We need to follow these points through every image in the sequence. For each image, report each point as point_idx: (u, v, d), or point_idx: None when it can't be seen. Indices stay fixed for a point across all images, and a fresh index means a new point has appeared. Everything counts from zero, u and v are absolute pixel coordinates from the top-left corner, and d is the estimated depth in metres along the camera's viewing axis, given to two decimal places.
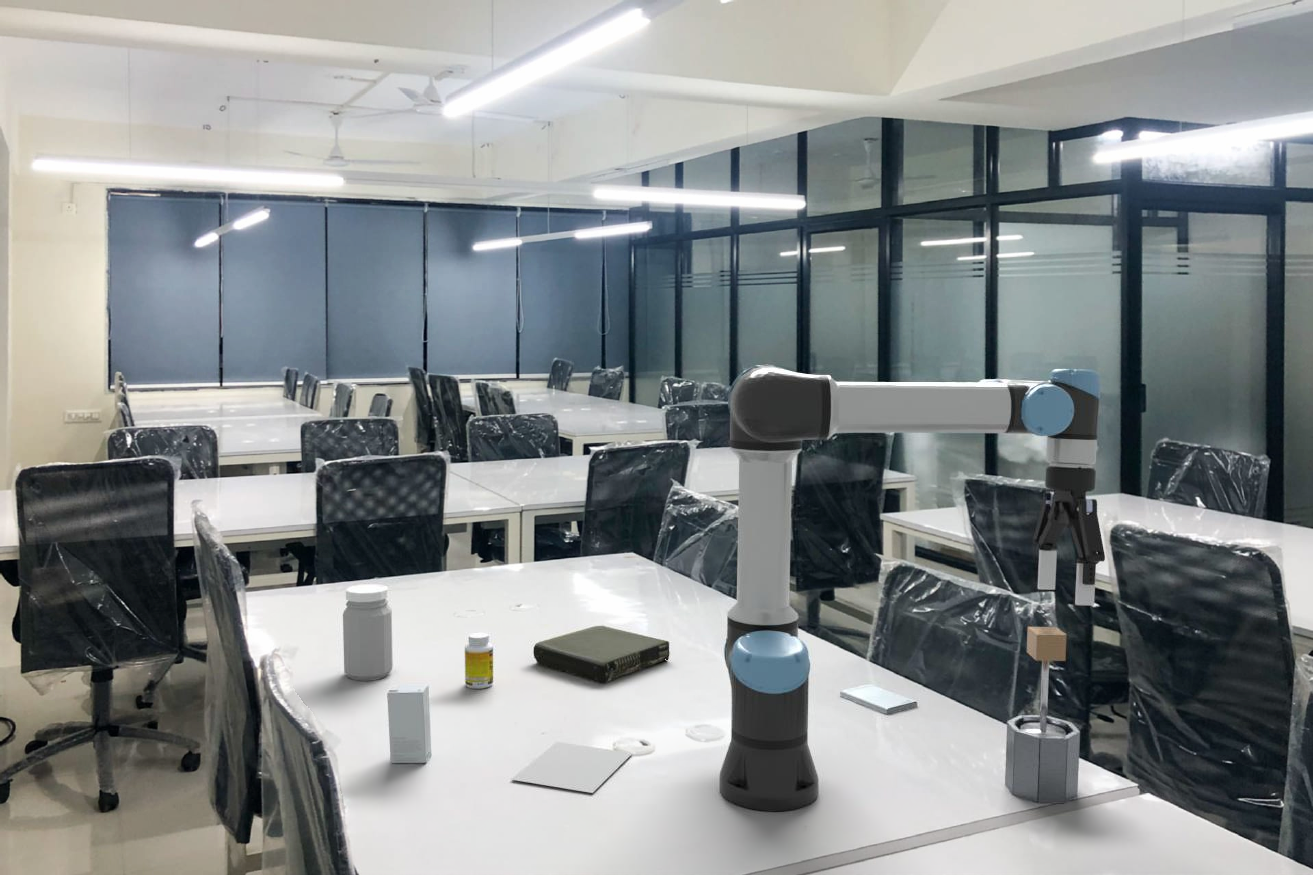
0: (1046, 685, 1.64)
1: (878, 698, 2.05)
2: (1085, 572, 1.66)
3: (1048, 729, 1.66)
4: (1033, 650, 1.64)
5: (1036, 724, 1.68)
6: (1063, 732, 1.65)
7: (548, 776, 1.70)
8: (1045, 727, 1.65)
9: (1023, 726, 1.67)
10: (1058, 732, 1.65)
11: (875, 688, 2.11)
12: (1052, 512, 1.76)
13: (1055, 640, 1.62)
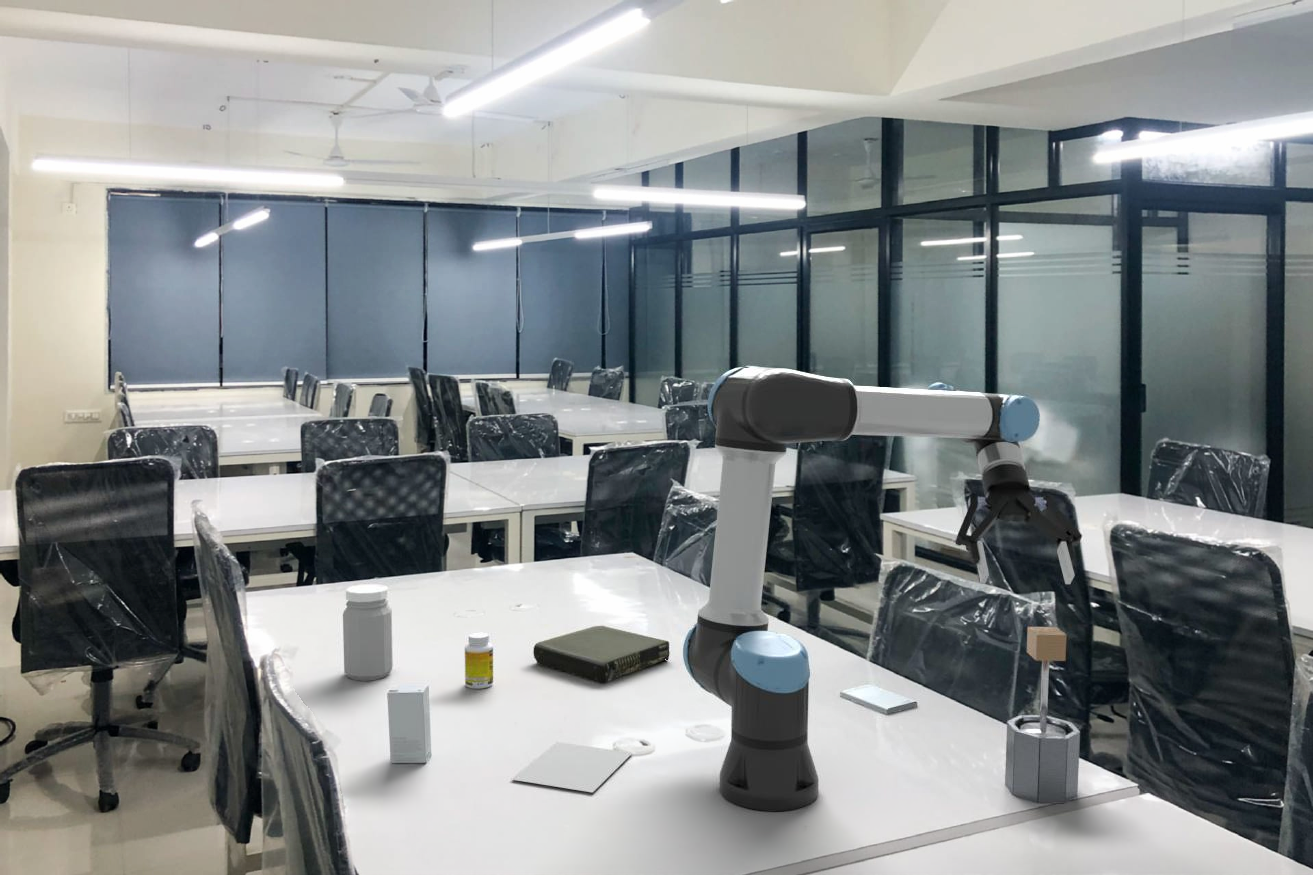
0: (1046, 685, 1.64)
1: (878, 698, 2.05)
2: (1071, 550, 1.76)
3: (1048, 729, 1.66)
4: (1033, 650, 1.64)
5: (1036, 724, 1.68)
6: (1063, 732, 1.65)
7: (548, 776, 1.70)
8: (1045, 727, 1.65)
9: (1023, 726, 1.67)
10: (1058, 732, 1.65)
11: (875, 688, 2.11)
12: (1000, 506, 1.81)
13: (1055, 640, 1.62)
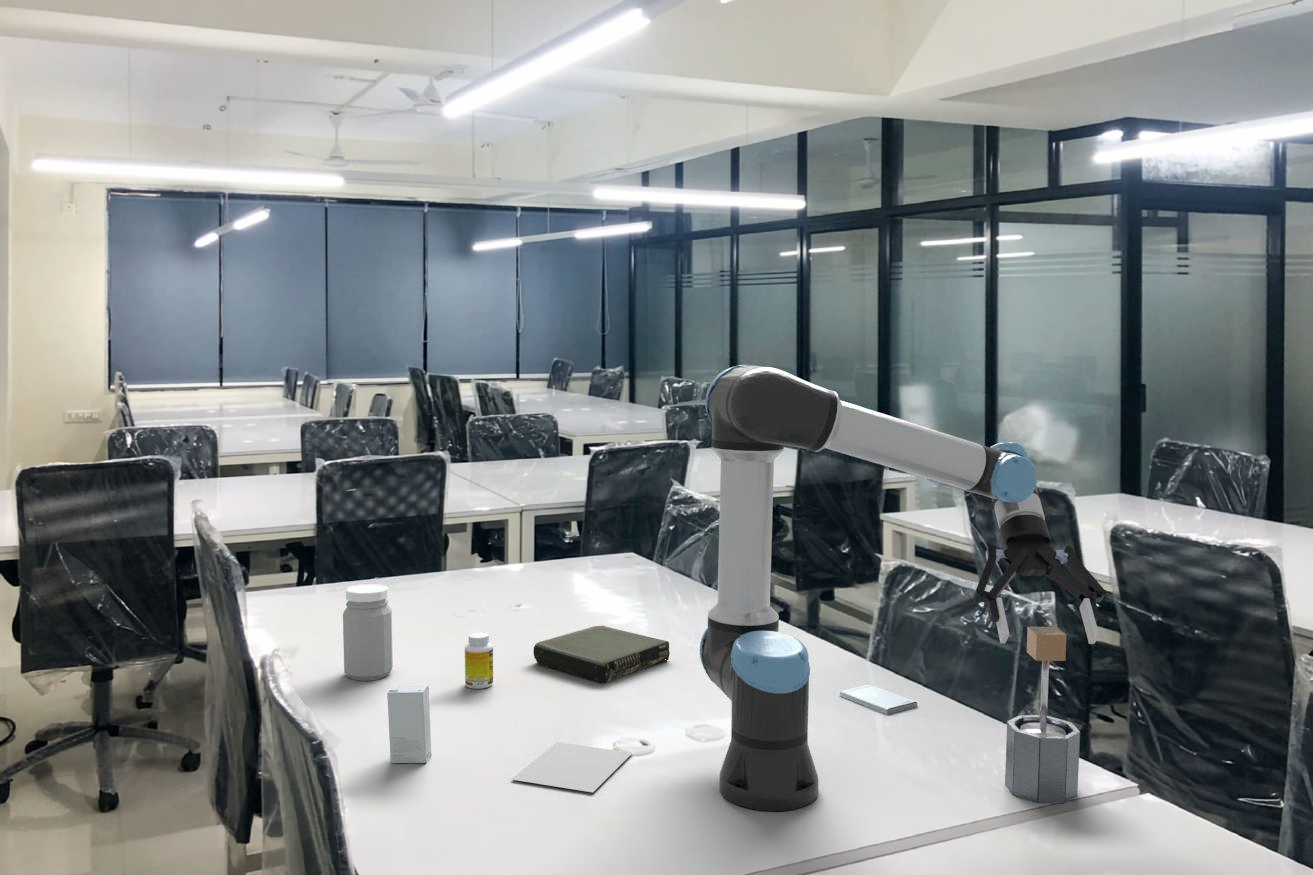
0: (1046, 685, 1.64)
1: (878, 699, 2.04)
2: (1095, 607, 1.68)
3: (1048, 729, 1.66)
4: (1033, 650, 1.64)
5: (1036, 724, 1.68)
6: (1063, 732, 1.65)
7: (549, 776, 1.70)
8: (1045, 727, 1.65)
9: (1023, 726, 1.67)
10: (1058, 732, 1.65)
11: (875, 688, 2.11)
12: (1020, 559, 1.73)
13: (1055, 640, 1.62)
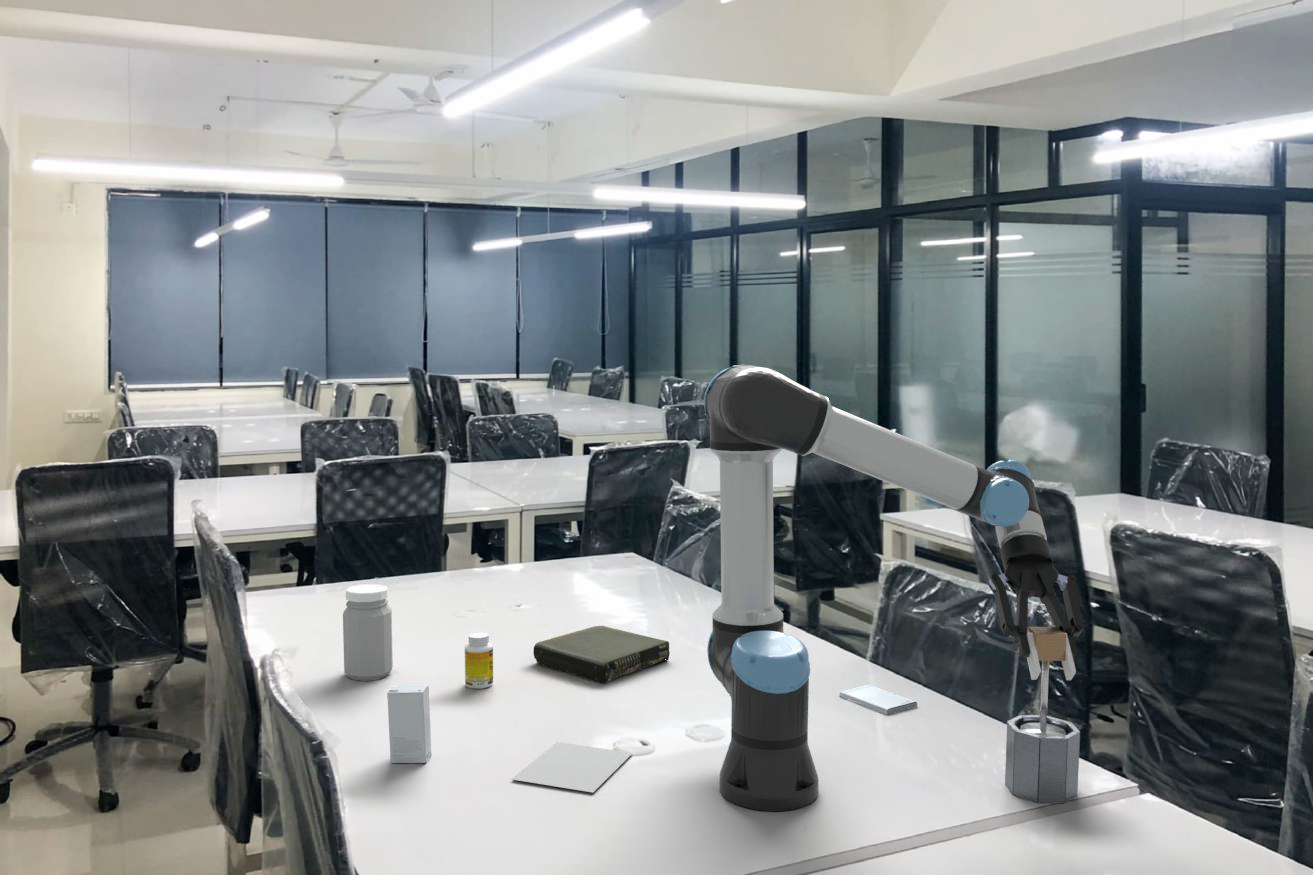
0: (1046, 685, 1.64)
1: (878, 699, 2.04)
2: (1072, 642, 1.63)
3: (1048, 729, 1.66)
4: None
5: (1036, 724, 1.68)
6: (1063, 732, 1.65)
7: (549, 776, 1.70)
8: (1045, 727, 1.65)
9: (1023, 726, 1.67)
10: (1058, 732, 1.65)
11: (874, 688, 2.11)
12: (1026, 582, 1.69)
13: (1055, 641, 1.62)
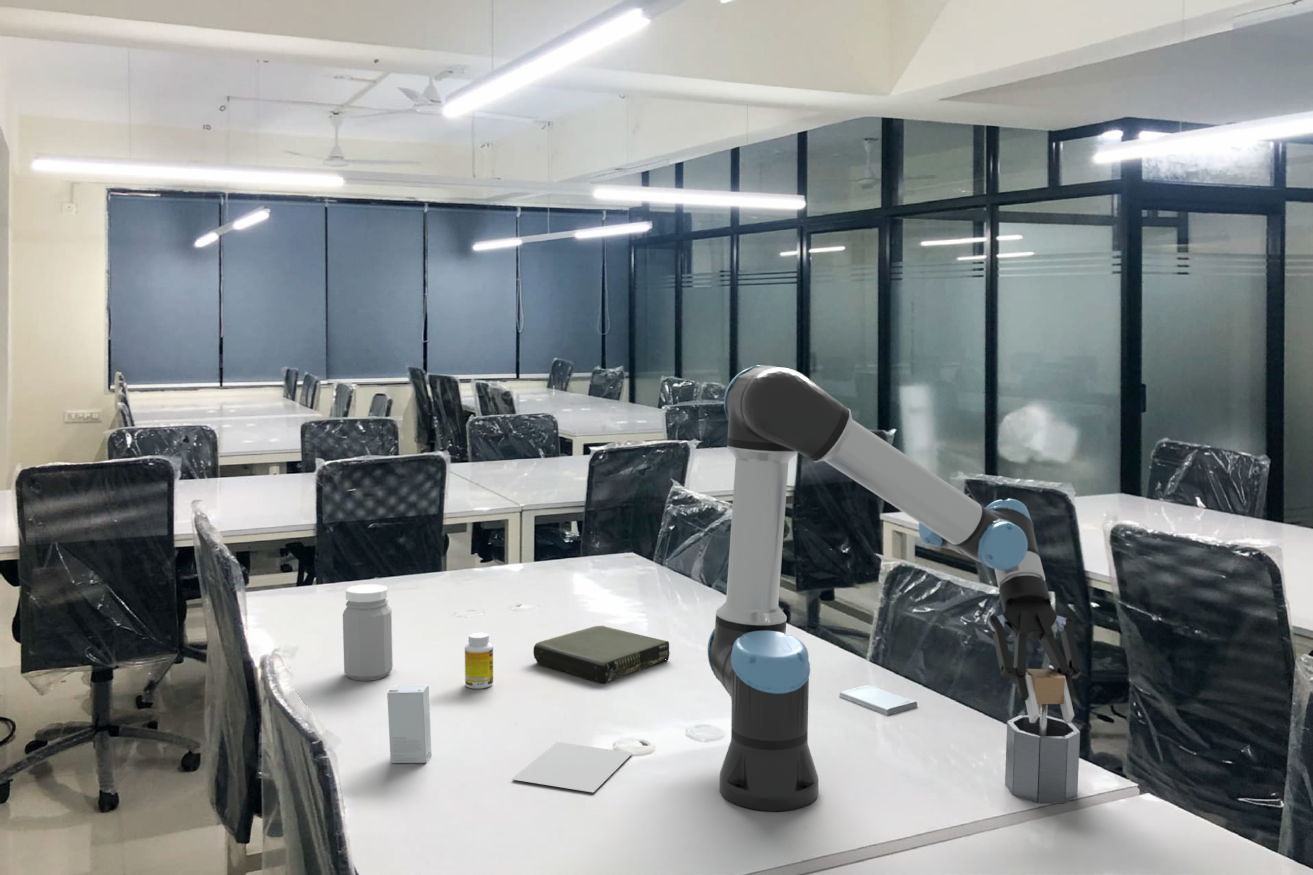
0: (1044, 728, 1.65)
1: (878, 699, 2.04)
2: (1070, 685, 1.64)
3: None
4: None
5: None
6: None
7: (549, 776, 1.70)
8: None
9: None
10: None
11: (874, 688, 2.11)
12: (1025, 624, 1.70)
13: (1053, 684, 1.62)
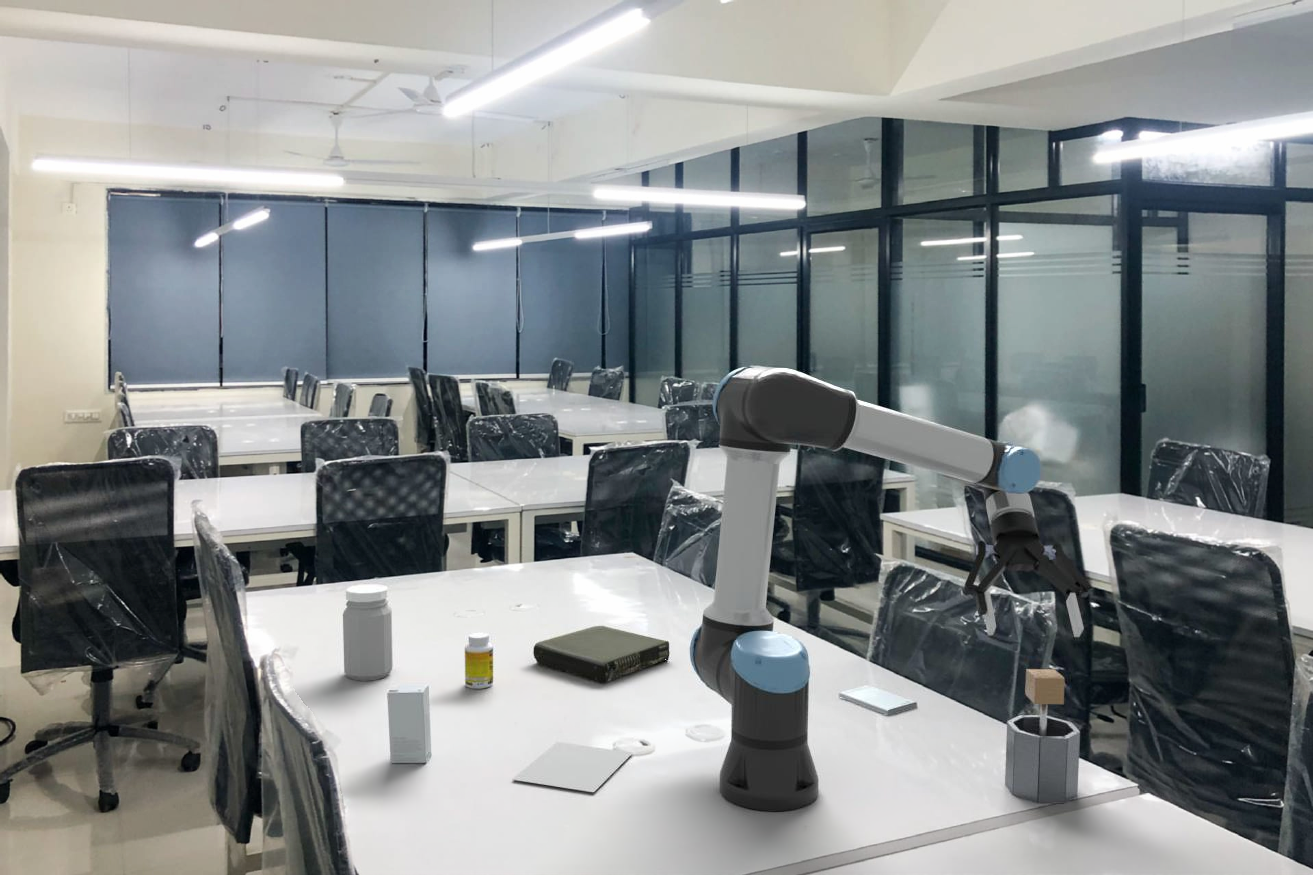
0: (1044, 728, 1.65)
1: (878, 700, 2.04)
2: (1080, 601, 1.73)
3: None
4: (1031, 693, 1.64)
5: None
6: None
7: (549, 776, 1.70)
8: None
9: None
10: None
11: (874, 689, 2.10)
12: (1009, 555, 1.78)
13: (1053, 684, 1.62)
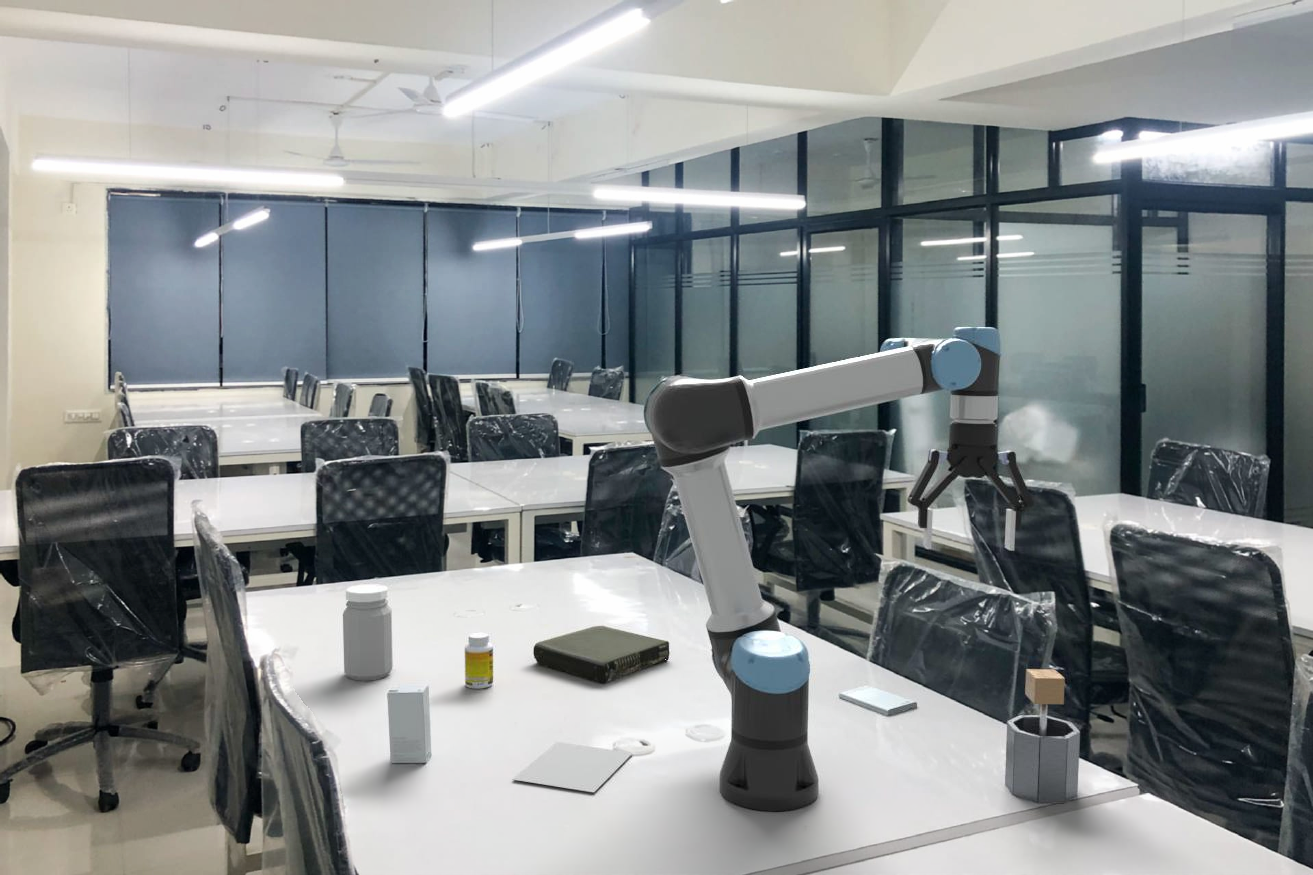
0: (1044, 728, 1.65)
1: (878, 700, 2.04)
2: (1019, 518, 1.78)
3: None
4: (1031, 693, 1.64)
5: None
6: None
7: (549, 776, 1.70)
8: None
9: None
10: None
11: (873, 689, 2.10)
12: (960, 469, 1.77)
13: (1053, 684, 1.62)
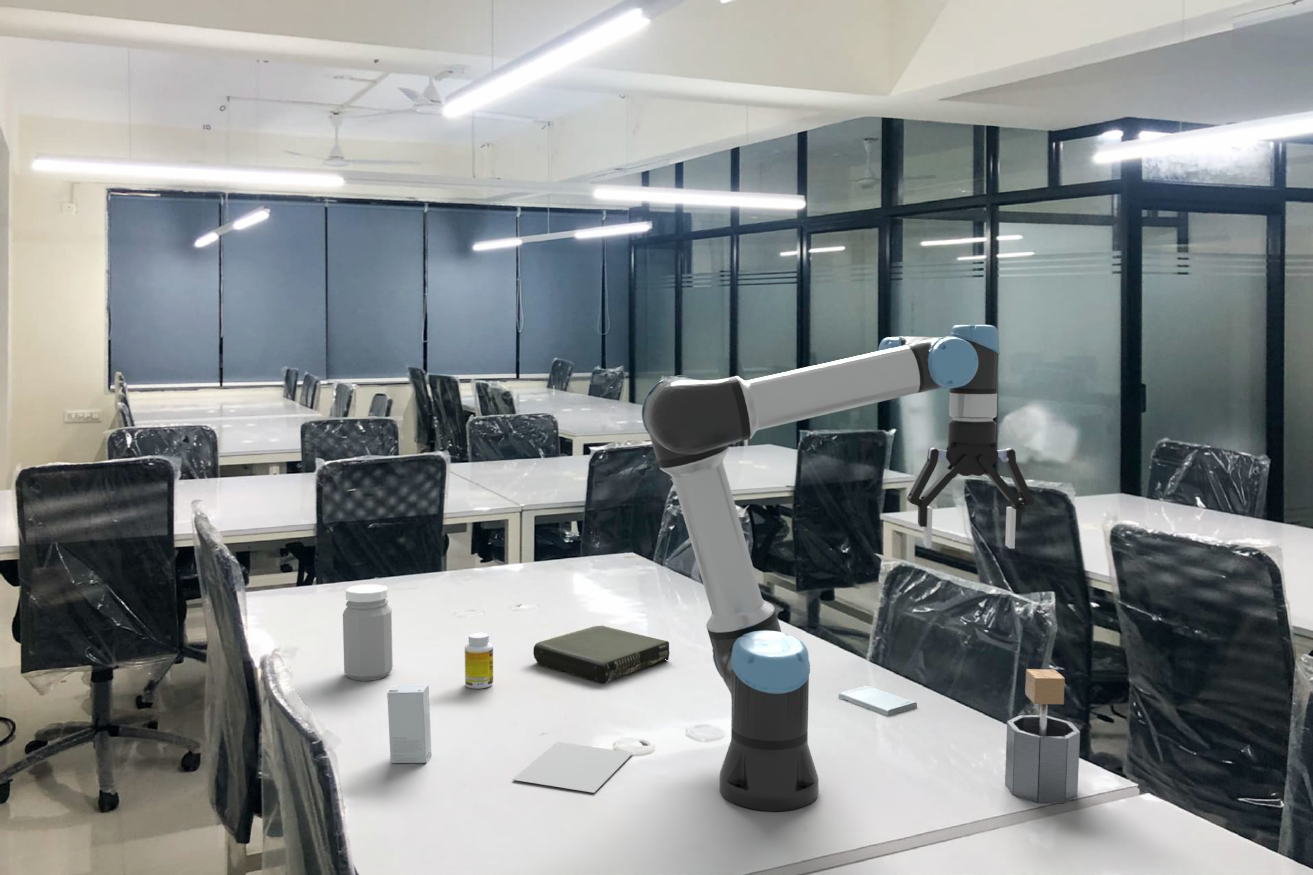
0: (1044, 728, 1.65)
1: (878, 700, 2.04)
2: (1019, 516, 1.78)
3: None
4: (1031, 693, 1.64)
5: None
6: None
7: (550, 776, 1.70)
8: None
9: None
10: None
11: (873, 689, 2.10)
12: (960, 468, 1.76)
13: (1053, 684, 1.62)
